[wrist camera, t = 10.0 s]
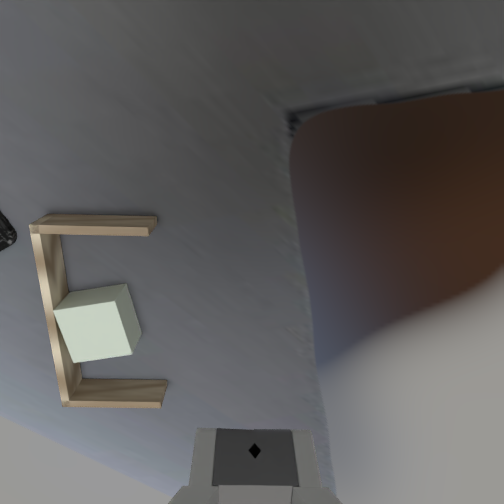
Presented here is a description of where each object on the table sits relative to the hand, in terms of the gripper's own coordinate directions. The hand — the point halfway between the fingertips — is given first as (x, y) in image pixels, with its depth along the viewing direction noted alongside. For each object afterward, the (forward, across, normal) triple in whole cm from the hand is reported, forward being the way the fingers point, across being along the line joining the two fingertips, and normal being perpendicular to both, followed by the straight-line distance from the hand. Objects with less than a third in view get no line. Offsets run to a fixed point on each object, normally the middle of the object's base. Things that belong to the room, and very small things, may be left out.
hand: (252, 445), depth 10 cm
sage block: (+28, +14, +14) cm, 35 cm away
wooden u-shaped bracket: (+28, +14, +13) cm, 34 cm away
